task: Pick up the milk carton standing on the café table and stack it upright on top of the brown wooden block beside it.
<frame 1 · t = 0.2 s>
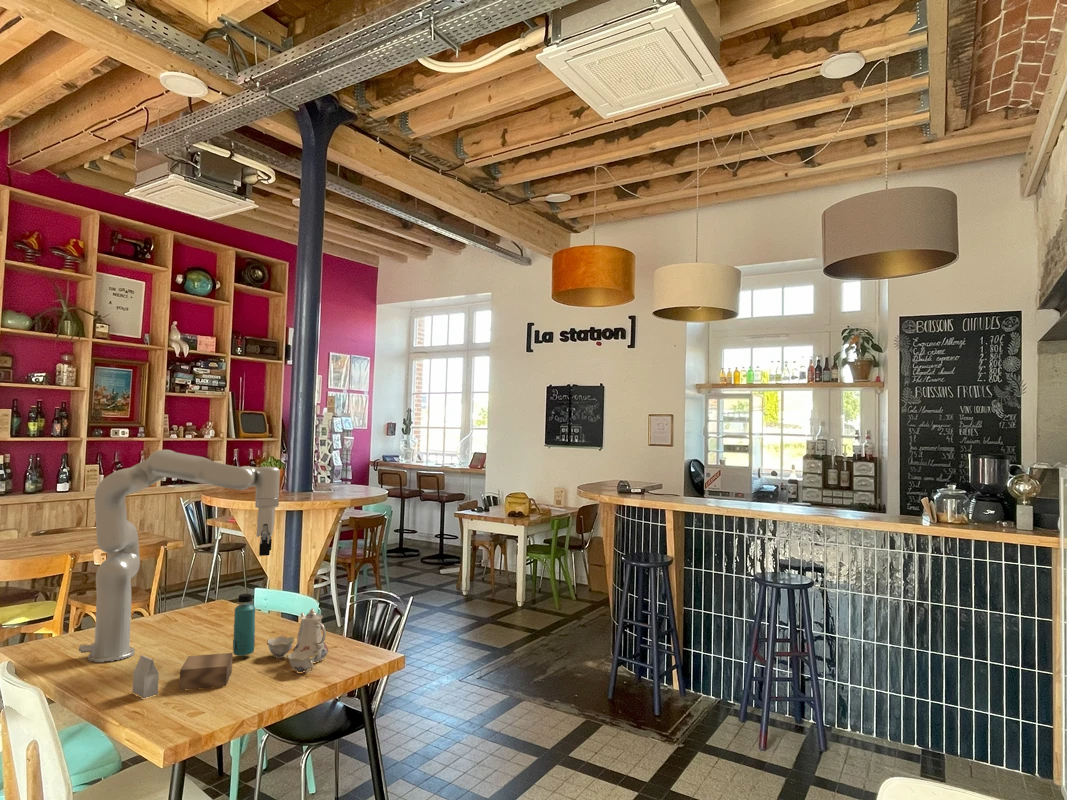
hand: (265, 552, 227), 31 cm above the table, tool pointing down, fingers open, 9 cm apart
chinaware: (301, 662, 209), on the table
milk carton: (144, 695, 181), on the table
brown wooden block: (206, 682, 192), on the table
beverage bottle: (243, 657, 212), on the table
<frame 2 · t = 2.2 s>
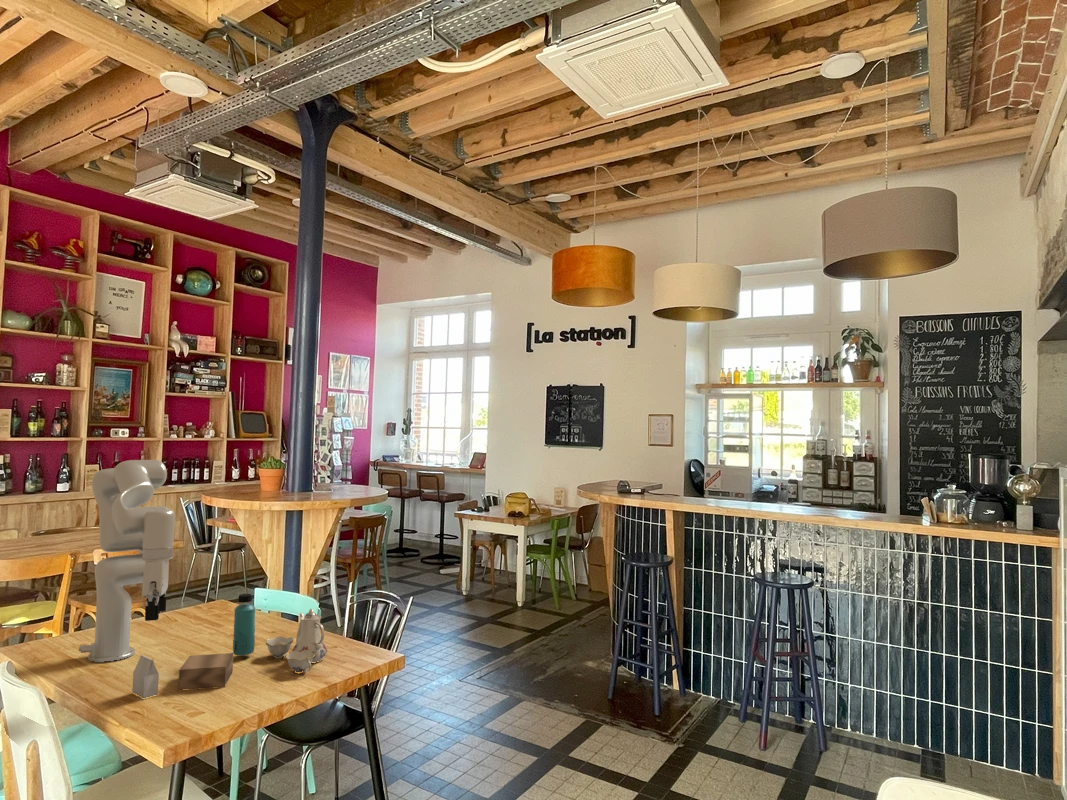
hand: (155, 615, 184), 21 cm above the table, tool pointing down, fingers open, 9 cm apart
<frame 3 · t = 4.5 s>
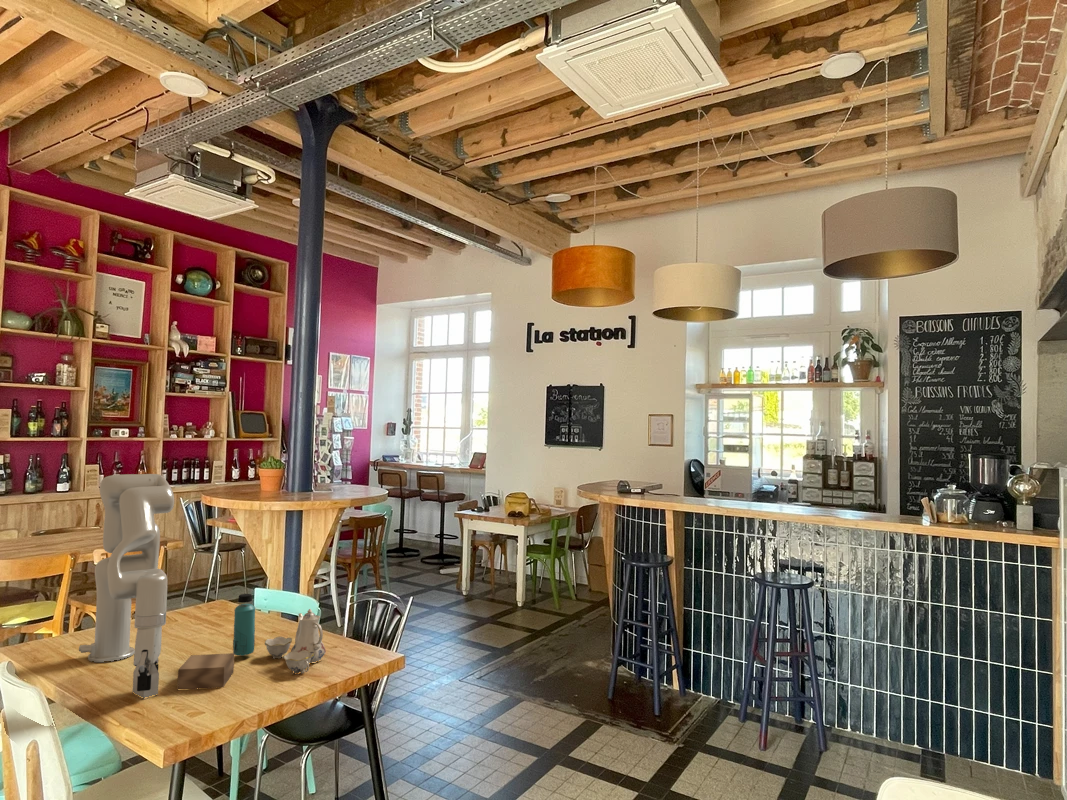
hand: (147, 684, 182), 3 cm above the table, tool pointing down, fingers closed on milk carton, 7 cm apart
milk carton: (145, 695, 181), on the table, touching gripper
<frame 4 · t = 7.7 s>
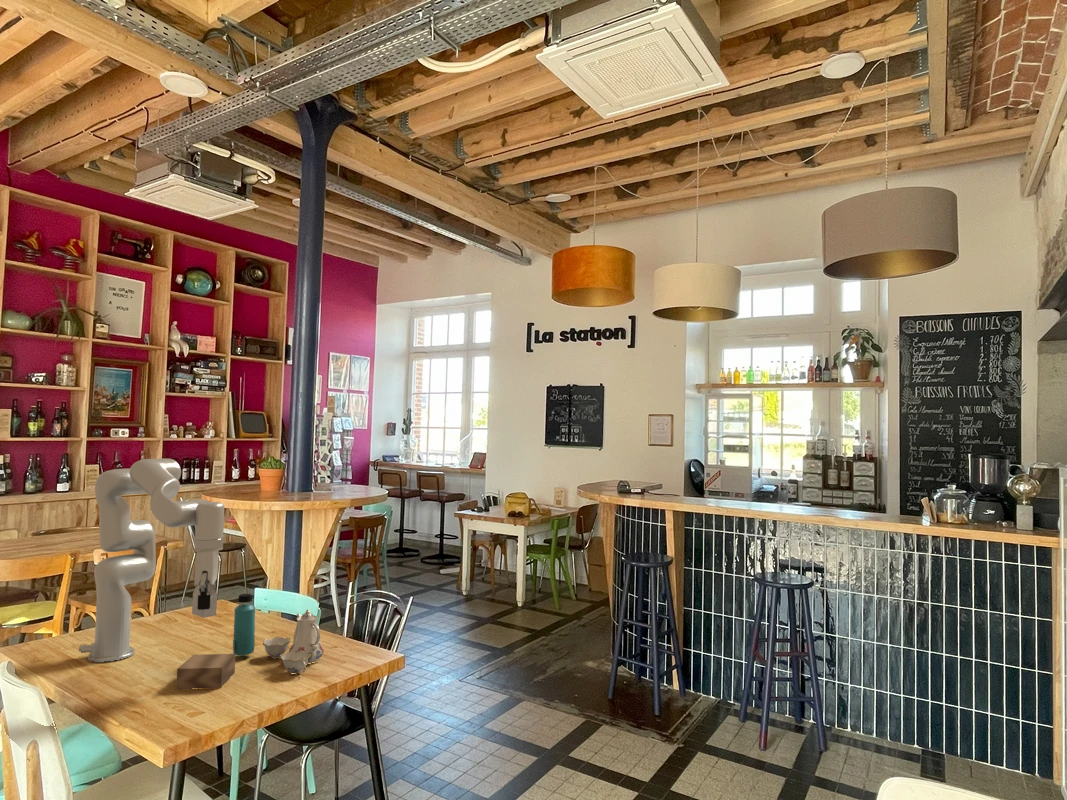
hand: (206, 605, 192), 22 cm above the table, tool pointing down, fingers closed on milk carton, 7 cm apart
milk carton: (203, 615, 192), point 19 cm above the table, touching gripper
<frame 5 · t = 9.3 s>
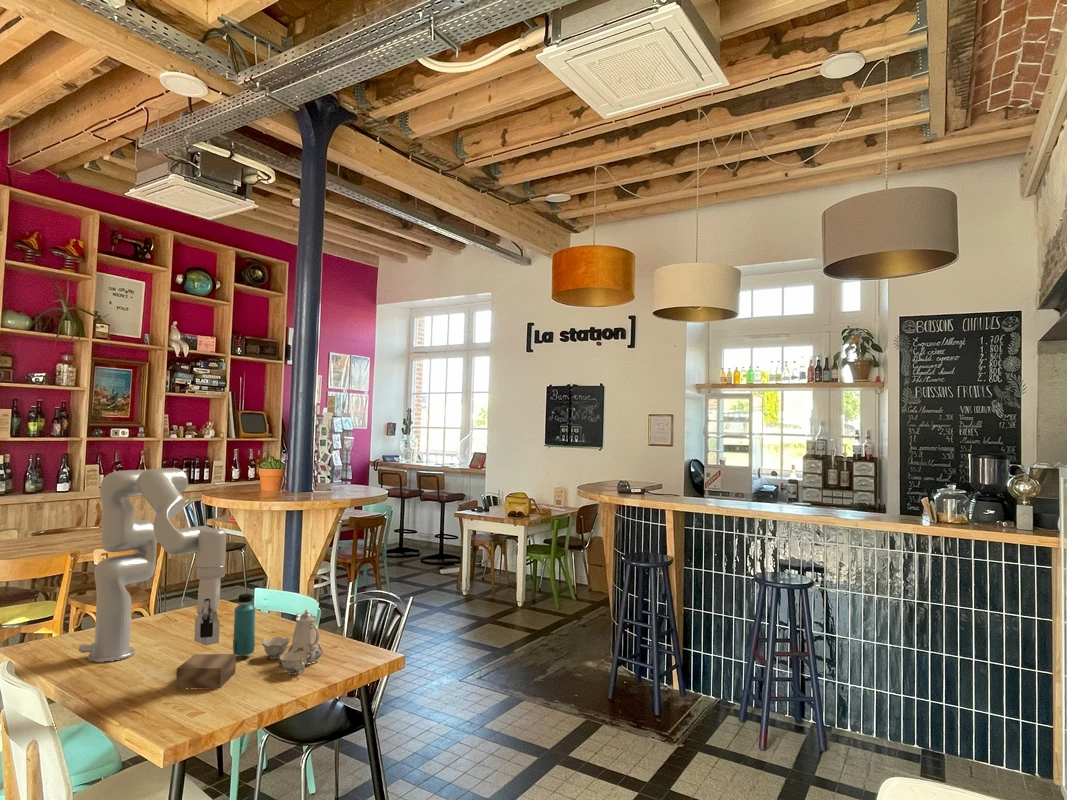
hand: (208, 632, 193), 14 cm above the table, tool pointing down, fingers closed on milk carton, 7 cm apart
milk carton: (206, 642, 192), point 11 cm above the table, touching gripper
when the fingers open (9 cm above the table, at t = 10.8 s): milk carton drops 1 cm, resting on brown wooden block.
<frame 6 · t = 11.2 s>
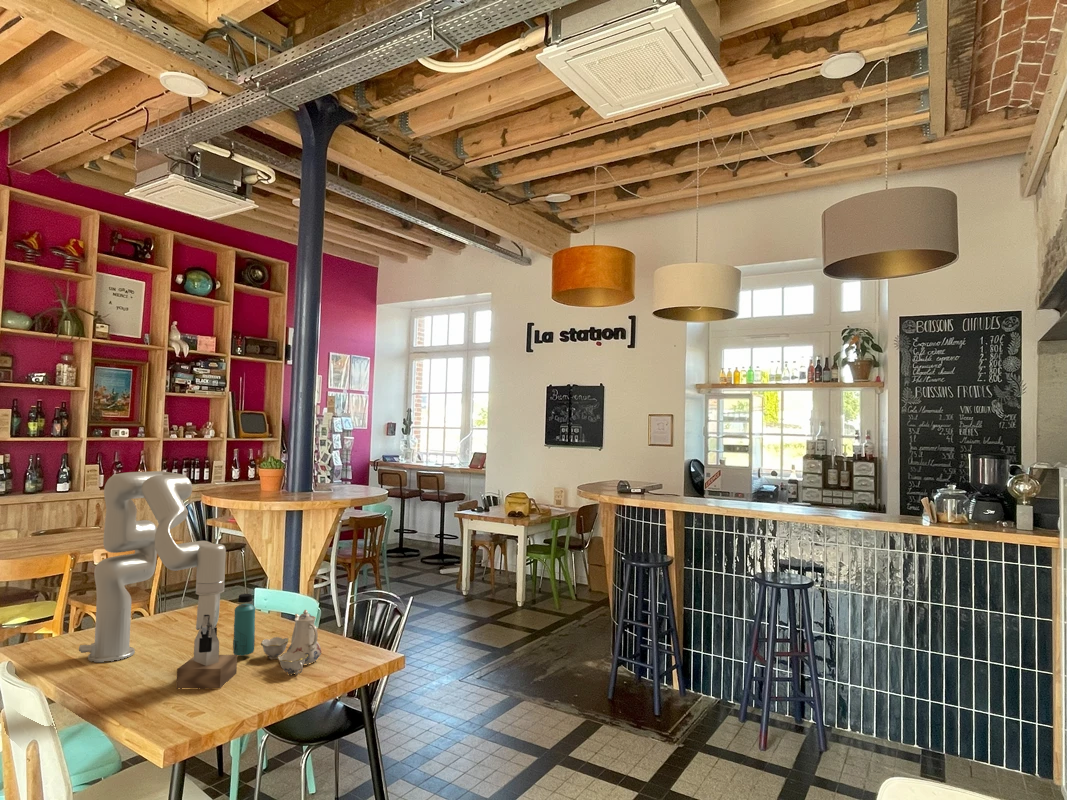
hand: (207, 646, 192), 10 cm above the table, tool pointing down, fingers open, 9 cm apart
milk carton: (205, 662, 192), point 5 cm above the table, touching brown wooden block
brown wooden block: (207, 682, 192), on the table, touching milk carton
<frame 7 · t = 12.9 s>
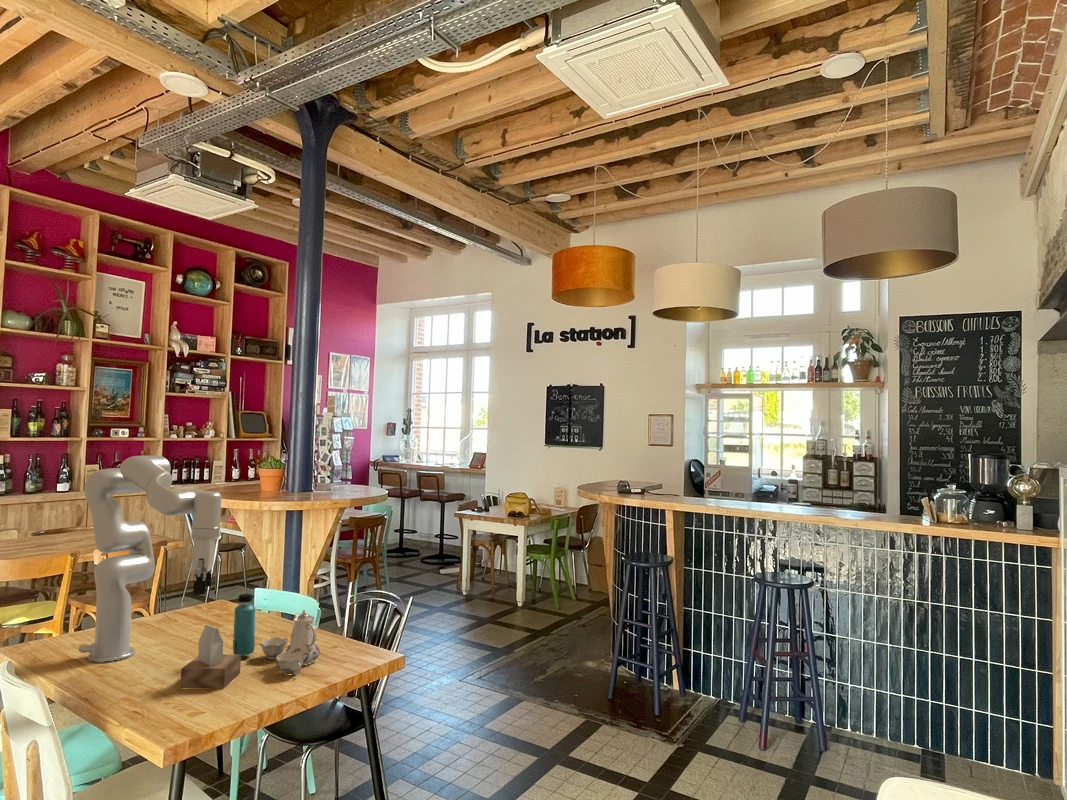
hand: (202, 590, 198), 25 cm above the table, tool pointing down, fingers open, 9 cm apart
milk carton: (210, 662, 192), point 5 cm above the table, touching brown wooden block
brown wooden block: (211, 682, 192), on the table, touching milk carton
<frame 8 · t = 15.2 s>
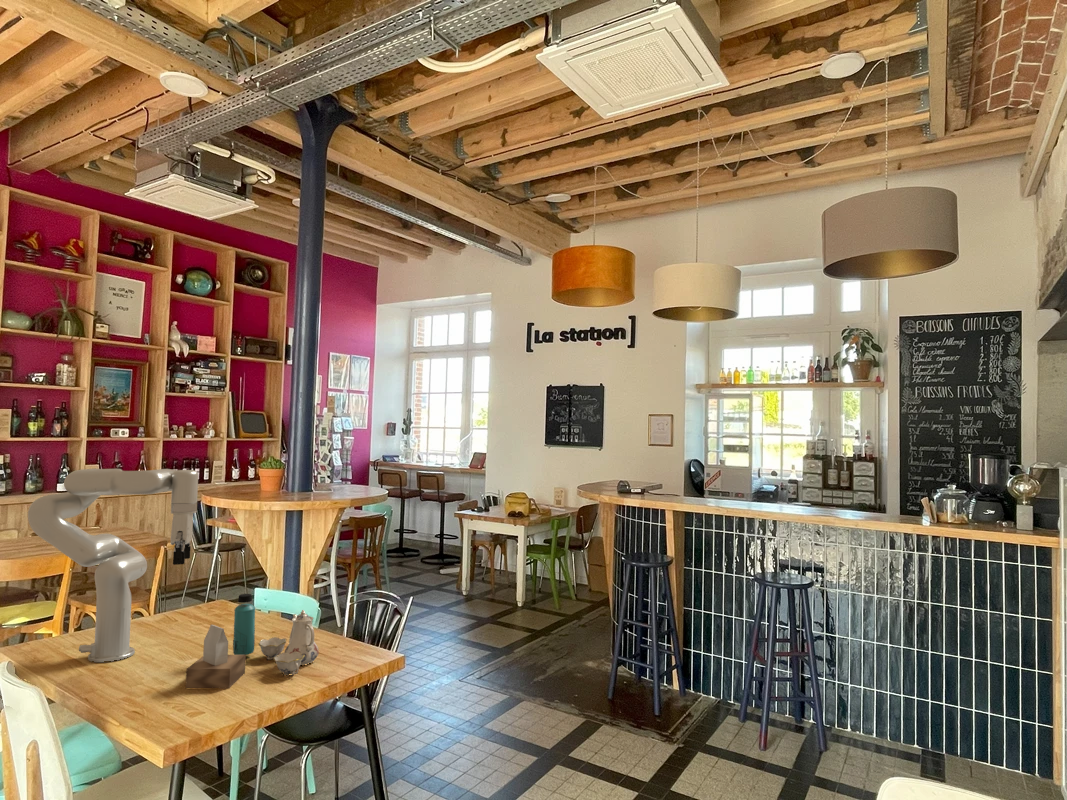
hand: (181, 561, 213), 30 cm above the table, tool pointing down, fingers open, 9 cm apart
milk carton: (215, 662, 193), point 5 cm above the table, touching brown wooden block
brown wooden block: (216, 682, 192), on the table, touching milk carton
at the end: milk carton inside the target area on the brown wooden block (0.5 cm from its centre), point 5.8 cm above the brown wooden block's base; milk carton tilted 0°; the gripper is holding nothing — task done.
